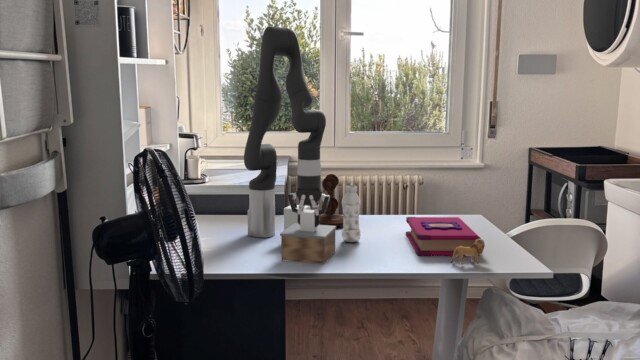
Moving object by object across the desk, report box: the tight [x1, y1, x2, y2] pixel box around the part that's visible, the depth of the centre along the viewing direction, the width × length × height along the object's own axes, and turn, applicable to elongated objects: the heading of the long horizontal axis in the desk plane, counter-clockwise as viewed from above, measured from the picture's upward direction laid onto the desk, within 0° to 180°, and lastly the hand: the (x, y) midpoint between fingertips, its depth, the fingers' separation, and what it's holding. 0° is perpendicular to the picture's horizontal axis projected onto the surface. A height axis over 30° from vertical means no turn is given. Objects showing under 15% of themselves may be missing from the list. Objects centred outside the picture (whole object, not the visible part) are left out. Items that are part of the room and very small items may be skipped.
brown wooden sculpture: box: [319, 173, 344, 229], centre depth 238 cm, size 15×15×20 cm
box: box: [280, 229, 336, 265], centre depth 197 cm, size 14×14×8 cm
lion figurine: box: [449, 238, 486, 265], centre depth 190 cm, size 12×4×7 cm, turn 110°
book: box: [405, 216, 482, 257], centre depth 212 cm, size 21×28×8 cm
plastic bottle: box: [341, 184, 362, 243], centre depth 213 cm, size 6×7×20 cm
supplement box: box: [283, 204, 312, 231], centre depth 214 cm, size 7×7×13 cm
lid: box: [279, 209, 337, 239], centre depth 196 cm, size 15×15×8 cm
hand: (309, 225), depth 196 cm, fingers closed on lid, 4 cm apart
